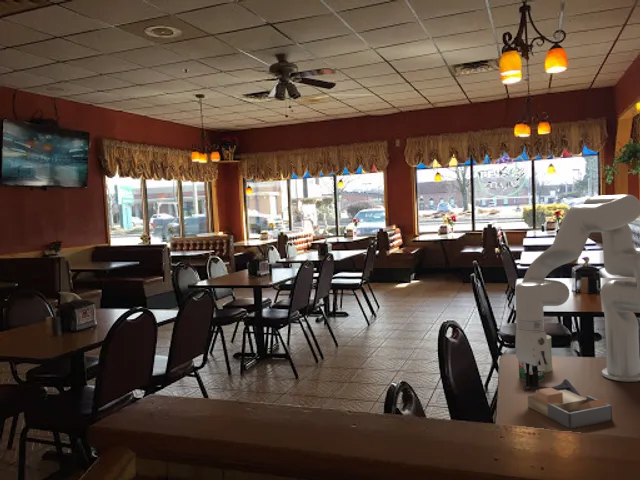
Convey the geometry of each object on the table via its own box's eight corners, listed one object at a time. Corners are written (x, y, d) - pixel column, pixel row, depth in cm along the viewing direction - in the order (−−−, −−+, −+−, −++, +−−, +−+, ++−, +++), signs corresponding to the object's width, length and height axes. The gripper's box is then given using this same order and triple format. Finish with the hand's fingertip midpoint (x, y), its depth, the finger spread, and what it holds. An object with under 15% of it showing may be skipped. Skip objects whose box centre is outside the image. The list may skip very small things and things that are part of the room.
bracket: (520, 384, 180) (520, 376, 180) (568, 384, 178) (568, 375, 177) (528, 400, 166) (528, 391, 166) (581, 400, 163) (580, 391, 163)
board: (565, 399, 163) (565, 389, 163) (588, 409, 154) (587, 399, 154) (528, 406, 159) (527, 396, 159) (548, 417, 151) (548, 406, 151)
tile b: (550, 395, 158) (550, 387, 158) (562, 401, 154) (562, 392, 153) (536, 398, 157) (535, 390, 157) (547, 404, 152) (547, 395, 152)
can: (519, 367, 196) (517, 334, 195) (540, 363, 199) (539, 331, 198) (536, 374, 187) (535, 339, 186) (558, 370, 190) (557, 336, 189)
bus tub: (588, 409, 154) (588, 395, 154) (612, 420, 146) (611, 405, 146) (548, 417, 151) (547, 403, 150) (569, 428, 142) (569, 413, 142)
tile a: (604, 398, 147) (608, 407, 146) (592, 403, 152) (596, 412, 150) (588, 401, 146) (592, 411, 145) (577, 406, 150) (581, 415, 149)
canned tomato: (514, 379, 184) (513, 347, 183) (525, 373, 189) (524, 342, 188) (538, 383, 178) (536, 350, 177) (548, 377, 183) (546, 345, 183)
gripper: (558, 328, 155) (560, 392, 156) (525, 319, 169) (527, 377, 170) (535, 331, 153) (537, 396, 154) (503, 321, 167) (506, 380, 168)
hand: (532, 386), depth 162 cm, fingers closed
